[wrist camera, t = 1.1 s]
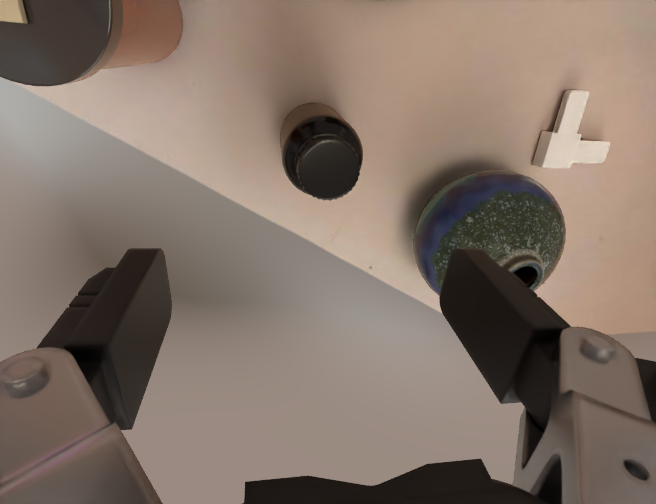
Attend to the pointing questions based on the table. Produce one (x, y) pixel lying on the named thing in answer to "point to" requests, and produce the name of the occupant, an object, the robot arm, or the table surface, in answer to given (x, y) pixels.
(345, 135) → the supplement bottle
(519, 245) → the vase
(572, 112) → the corner connector
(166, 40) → the tumbler
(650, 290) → the table surface
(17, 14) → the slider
